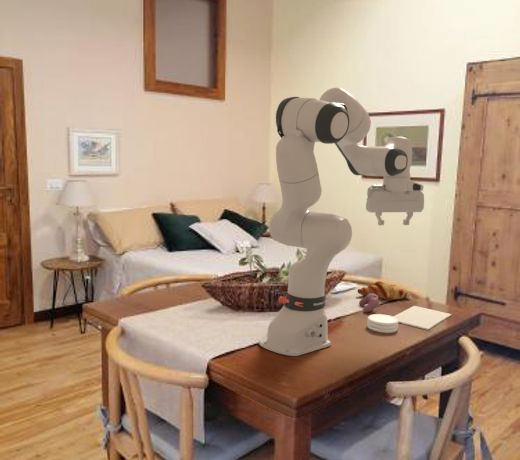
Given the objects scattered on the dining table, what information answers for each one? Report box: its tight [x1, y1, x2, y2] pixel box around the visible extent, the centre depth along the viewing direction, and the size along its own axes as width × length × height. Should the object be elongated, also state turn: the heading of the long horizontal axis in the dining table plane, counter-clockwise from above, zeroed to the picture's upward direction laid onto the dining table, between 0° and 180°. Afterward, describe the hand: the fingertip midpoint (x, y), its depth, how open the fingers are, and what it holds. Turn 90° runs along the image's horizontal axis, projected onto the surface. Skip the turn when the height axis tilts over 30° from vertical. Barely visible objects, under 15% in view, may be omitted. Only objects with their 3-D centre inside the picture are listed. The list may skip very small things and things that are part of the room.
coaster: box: [366, 313, 399, 334], centre depth 170 cm, size 10×10×4 cm
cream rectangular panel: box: [393, 305, 452, 331], centre depth 182 cm, size 22×14×1 cm, turn 141°
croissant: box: [357, 280, 411, 301], centre depth 206 cm, size 21×10×8 cm, turn 91°
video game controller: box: [358, 293, 380, 313], centre depth 190 cm, size 10×5×7 cm, turn 179°
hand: (393, 225), depth 177 cm, fingers open, 8 cm apart
